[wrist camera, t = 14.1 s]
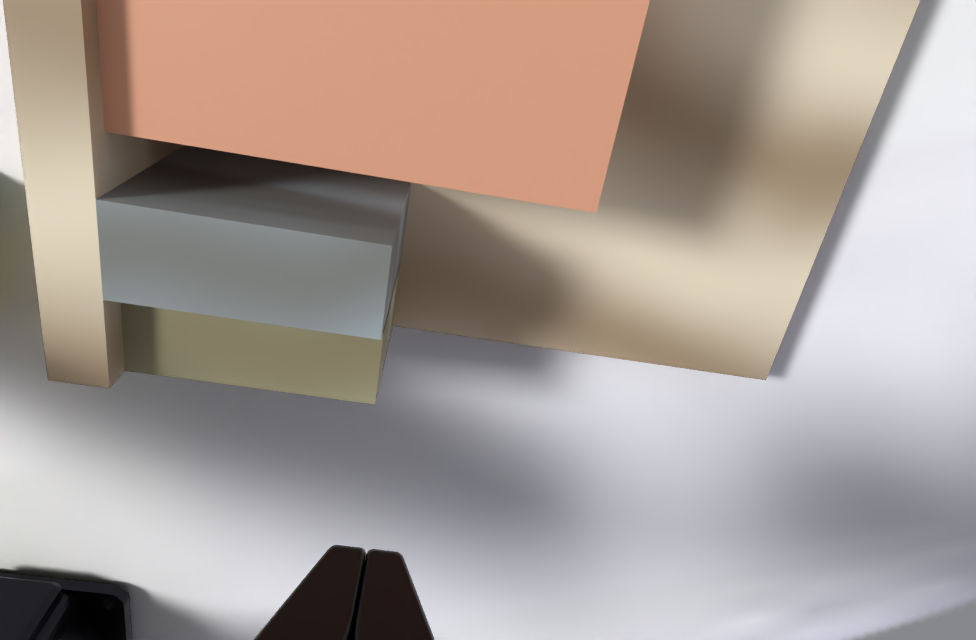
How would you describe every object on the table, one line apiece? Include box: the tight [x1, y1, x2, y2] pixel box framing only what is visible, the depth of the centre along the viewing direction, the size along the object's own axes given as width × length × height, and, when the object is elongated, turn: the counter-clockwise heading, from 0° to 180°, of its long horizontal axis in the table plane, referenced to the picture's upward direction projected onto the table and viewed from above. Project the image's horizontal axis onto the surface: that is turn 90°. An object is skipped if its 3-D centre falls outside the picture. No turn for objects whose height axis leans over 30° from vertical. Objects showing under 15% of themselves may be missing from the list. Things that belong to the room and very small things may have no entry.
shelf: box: [3, 0, 920, 404], centre depth 14 cm, size 14×17×6 cm
